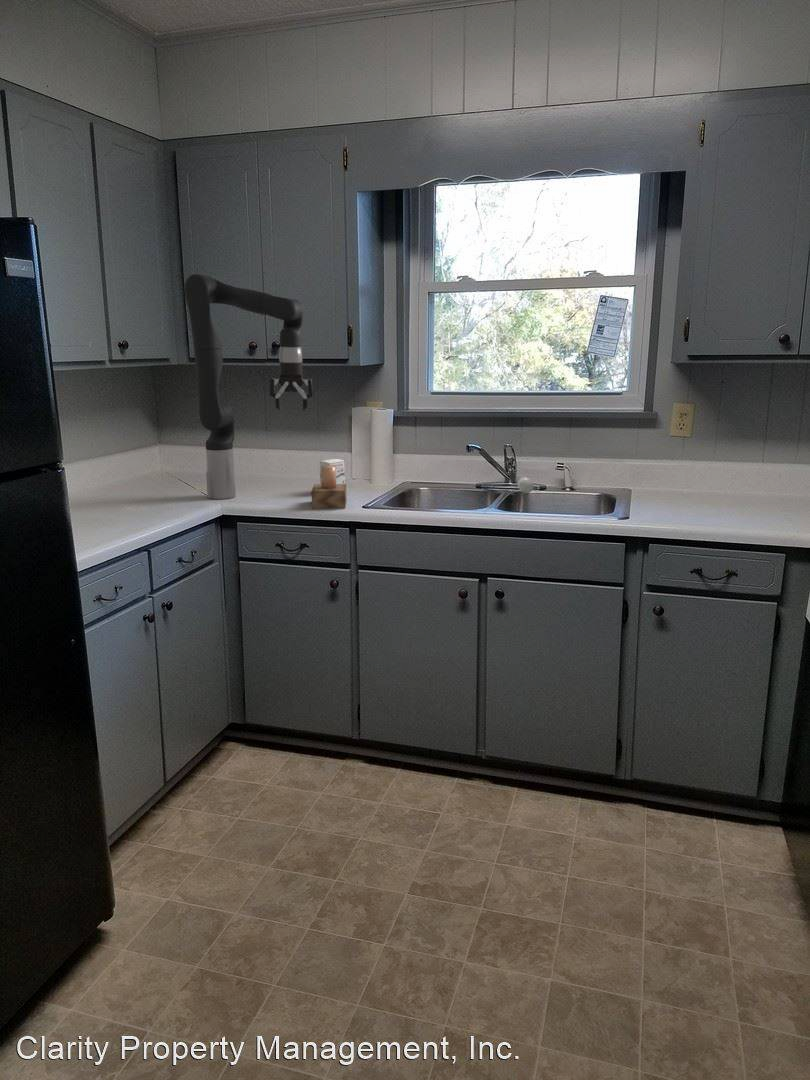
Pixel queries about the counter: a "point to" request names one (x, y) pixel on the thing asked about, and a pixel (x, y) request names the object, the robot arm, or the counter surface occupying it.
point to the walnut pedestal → (329, 497)
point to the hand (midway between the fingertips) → (291, 409)
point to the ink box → (339, 469)
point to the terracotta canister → (328, 477)
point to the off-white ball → (525, 484)
